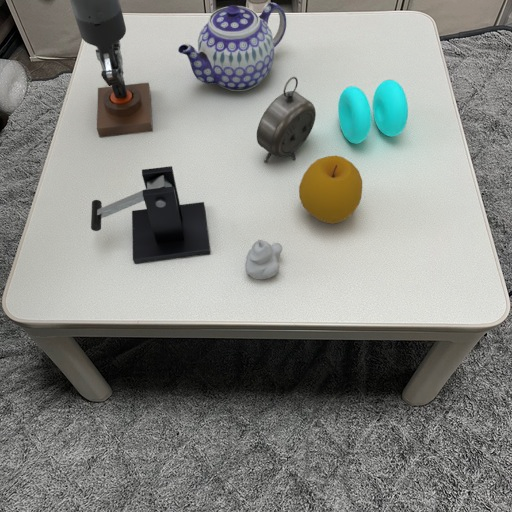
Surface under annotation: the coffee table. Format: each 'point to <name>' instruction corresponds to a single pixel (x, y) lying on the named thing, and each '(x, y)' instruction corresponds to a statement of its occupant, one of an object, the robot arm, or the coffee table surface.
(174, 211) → the lever base
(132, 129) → the switch
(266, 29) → the teapot
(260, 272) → the grey swirled lump
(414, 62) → the coffee table surface
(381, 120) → the donuts
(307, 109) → the alarm clock
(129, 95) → the button
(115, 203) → the t-handle lever
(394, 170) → the coffee table surface
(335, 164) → the apple
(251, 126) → the coffee table surface
